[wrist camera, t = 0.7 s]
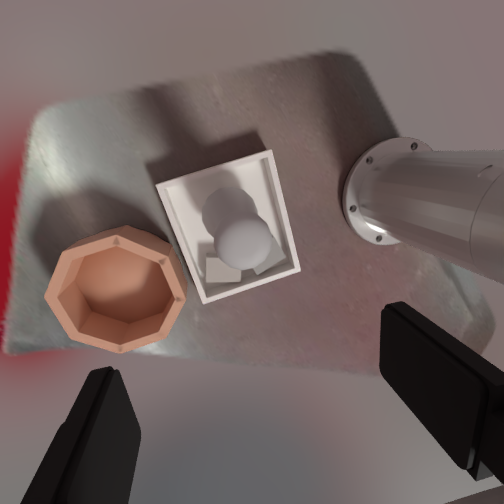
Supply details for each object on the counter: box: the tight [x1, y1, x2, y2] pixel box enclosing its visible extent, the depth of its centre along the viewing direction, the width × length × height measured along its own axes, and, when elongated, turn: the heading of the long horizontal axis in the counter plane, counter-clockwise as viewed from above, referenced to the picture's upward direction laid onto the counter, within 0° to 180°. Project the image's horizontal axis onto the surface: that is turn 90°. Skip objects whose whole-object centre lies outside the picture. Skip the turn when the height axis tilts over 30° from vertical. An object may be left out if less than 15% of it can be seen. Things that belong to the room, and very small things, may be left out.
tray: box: [156, 149, 301, 304], centre depth 31 cm, size 12×14×2 cm
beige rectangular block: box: [206, 253, 241, 282], centre depth 33 cm, size 4×3×2 cm
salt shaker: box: [202, 187, 272, 270], centre depth 26 cm, size 6×6×13 cm
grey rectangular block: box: [253, 235, 286, 275], centre depth 33 cm, size 4×3×2 cm
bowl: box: [44, 225, 188, 354], centre depth 30 cm, size 12×12×5 cm
